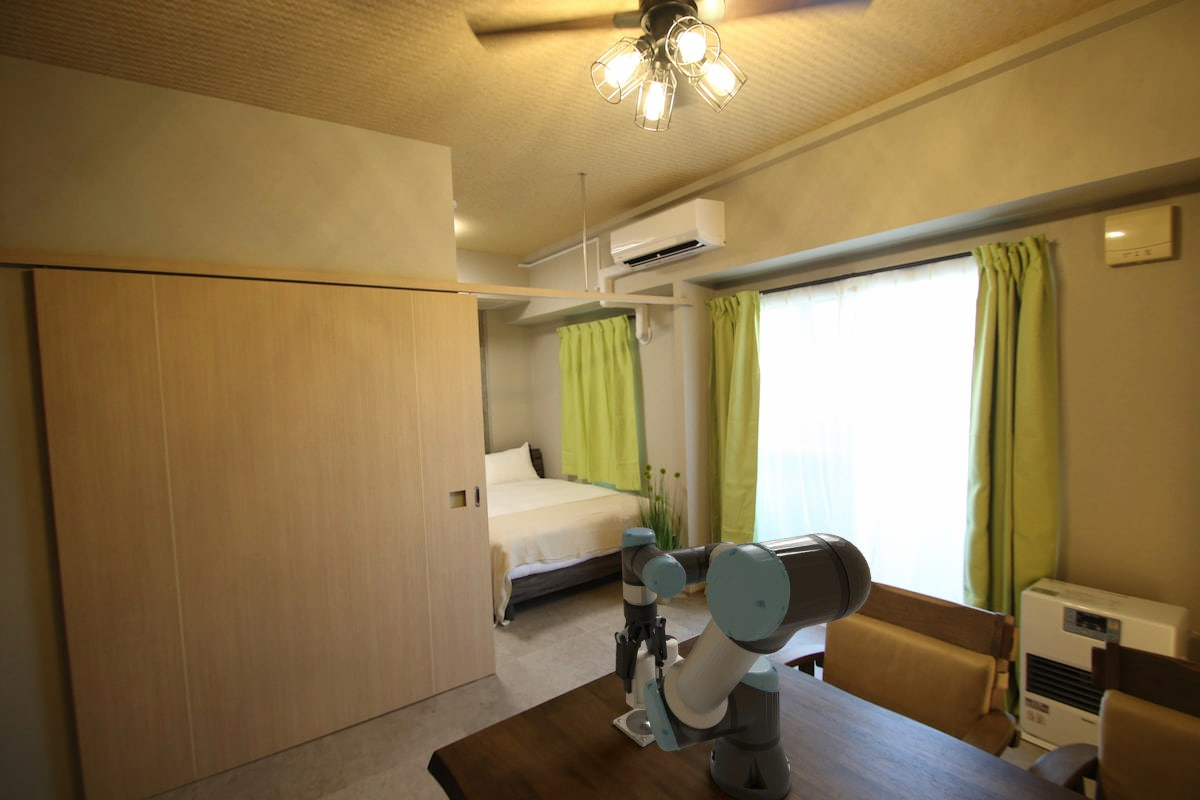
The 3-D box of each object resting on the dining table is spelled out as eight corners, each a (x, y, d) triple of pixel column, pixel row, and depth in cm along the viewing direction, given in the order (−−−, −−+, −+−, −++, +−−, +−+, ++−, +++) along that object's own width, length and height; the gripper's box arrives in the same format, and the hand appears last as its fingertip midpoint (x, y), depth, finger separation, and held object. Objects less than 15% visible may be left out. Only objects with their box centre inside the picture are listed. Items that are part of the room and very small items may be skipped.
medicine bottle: (648, 681, 135) (646, 635, 135) (671, 674, 138) (670, 629, 138) (662, 696, 129) (661, 648, 128) (687, 687, 132) (685, 641, 132)
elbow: (663, 701, 118) (661, 657, 117) (642, 712, 114) (641, 667, 113) (635, 682, 125) (634, 641, 125) (615, 692, 121) (613, 650, 121)
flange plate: (676, 727, 117) (676, 723, 117) (642, 747, 111) (642, 743, 111) (646, 706, 125) (645, 702, 125) (613, 723, 119) (613, 719, 119)
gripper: (659, 582, 126) (662, 675, 127) (595, 605, 114) (599, 708, 116) (682, 591, 120) (685, 690, 121) (617, 617, 108) (621, 725, 110)
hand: (643, 698), depth 118 cm, fingers closed on elbow, 6 cm apart
